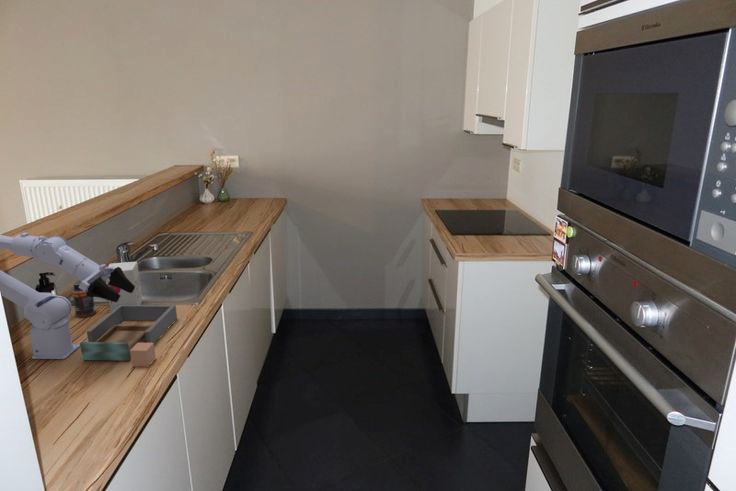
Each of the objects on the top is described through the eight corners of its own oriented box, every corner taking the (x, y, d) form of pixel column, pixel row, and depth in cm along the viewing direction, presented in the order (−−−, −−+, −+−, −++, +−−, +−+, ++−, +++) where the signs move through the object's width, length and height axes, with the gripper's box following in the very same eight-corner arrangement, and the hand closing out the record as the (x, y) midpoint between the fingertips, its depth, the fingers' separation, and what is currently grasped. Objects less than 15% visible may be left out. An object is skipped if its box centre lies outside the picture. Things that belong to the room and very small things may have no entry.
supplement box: (110, 314, 175) (102, 271, 170) (115, 303, 183) (109, 263, 178) (139, 311, 177) (132, 269, 172) (143, 300, 185) (137, 260, 180)
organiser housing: (89, 347, 152) (86, 331, 151) (121, 318, 171) (119, 304, 169) (151, 347, 152) (149, 332, 150) (177, 319, 170) (175, 305, 168)
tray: (82, 360, 144) (79, 343, 143) (114, 332, 161) (111, 317, 159) (129, 360, 144) (126, 344, 142) (155, 332, 160) (153, 317, 159)
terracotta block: (132, 367, 141) (129, 350, 140) (140, 358, 146) (137, 342, 144) (148, 367, 141) (146, 350, 140) (156, 359, 145) (153, 342, 144)
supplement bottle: (100, 311, 177) (94, 280, 173) (87, 318, 171) (81, 286, 168) (85, 309, 178) (79, 278, 175) (71, 317, 172) (65, 285, 169)
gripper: (71, 262, 132) (117, 291, 133) (103, 248, 146) (145, 274, 147) (59, 284, 134) (106, 312, 135) (93, 269, 148) (134, 294, 149)
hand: (126, 294), depth 141 cm, fingers open, 7 cm apart
